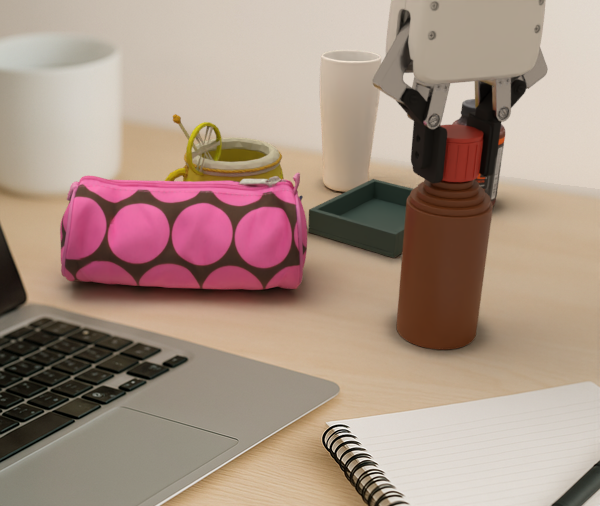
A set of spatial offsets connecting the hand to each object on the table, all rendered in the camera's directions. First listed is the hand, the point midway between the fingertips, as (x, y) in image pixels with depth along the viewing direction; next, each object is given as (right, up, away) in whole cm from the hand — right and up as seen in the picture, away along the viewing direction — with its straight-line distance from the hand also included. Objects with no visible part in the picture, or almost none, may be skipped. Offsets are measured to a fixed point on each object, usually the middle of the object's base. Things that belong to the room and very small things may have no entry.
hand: (452, 171), depth 61 cm
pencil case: (-21, -8, +14) cm, 27 cm away
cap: (0, 0, 0) cm, 0 cm away
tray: (-3, -2, +26) cm, 26 cm away
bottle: (0, -12, +6) cm, 13 cm away
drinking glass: (-6, +4, +37) cm, 37 cm away
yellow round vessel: (-19, -2, +25) cm, 32 cm away
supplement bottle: (+8, +1, +32) cm, 33 cm away
